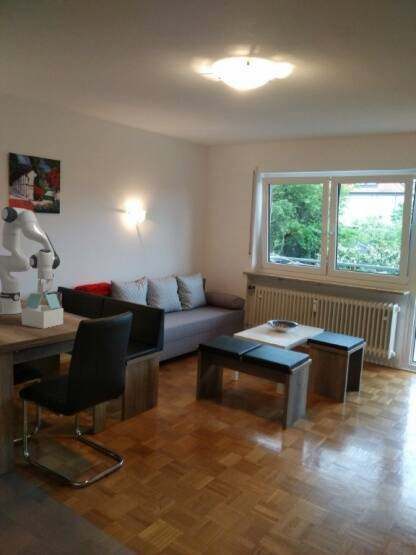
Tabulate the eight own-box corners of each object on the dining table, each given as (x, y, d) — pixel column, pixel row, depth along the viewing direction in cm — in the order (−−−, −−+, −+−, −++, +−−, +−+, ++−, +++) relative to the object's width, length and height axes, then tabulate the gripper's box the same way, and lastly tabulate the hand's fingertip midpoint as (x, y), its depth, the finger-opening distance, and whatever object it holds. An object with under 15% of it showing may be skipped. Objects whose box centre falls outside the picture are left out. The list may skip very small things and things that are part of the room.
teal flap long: (24, 306, 270) (30, 293, 273) (25, 307, 270) (31, 293, 274) (36, 308, 266) (42, 295, 269) (37, 309, 266) (43, 295, 269)
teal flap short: (50, 308, 269) (44, 295, 270) (59, 307, 276) (54, 293, 277) (50, 308, 268) (45, 295, 269) (60, 306, 276) (55, 293, 277)
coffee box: (53, 314, 305) (53, 291, 303) (62, 315, 304) (62, 292, 302) (46, 316, 296) (46, 293, 294) (55, 317, 295) (55, 293, 293)
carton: (20, 324, 272) (20, 308, 271) (41, 319, 287) (41, 304, 286) (43, 328, 264) (43, 312, 263) (63, 323, 279) (64, 308, 278)
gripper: (45, 277, 266) (45, 300, 267) (54, 274, 286) (54, 295, 288) (34, 277, 265) (34, 300, 267) (44, 273, 286) (44, 294, 287)
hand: (45, 297), depth 277 cm, fingers closed
